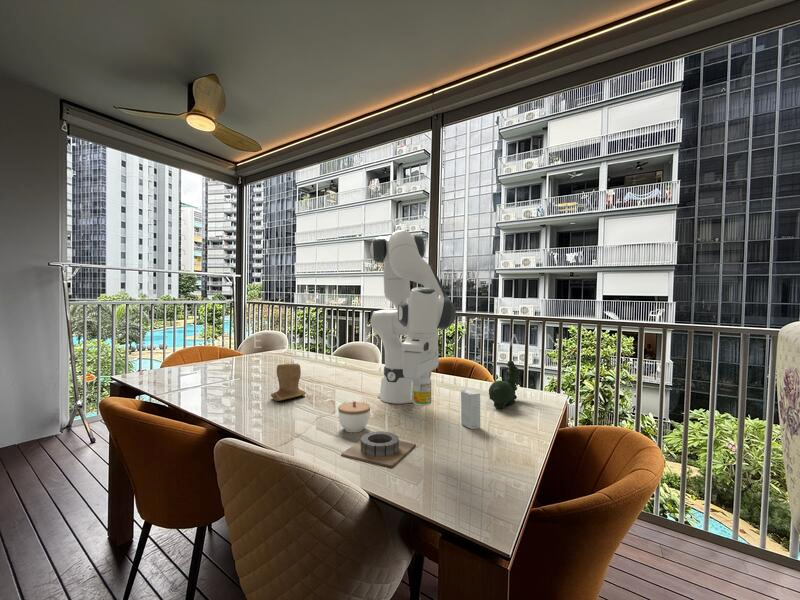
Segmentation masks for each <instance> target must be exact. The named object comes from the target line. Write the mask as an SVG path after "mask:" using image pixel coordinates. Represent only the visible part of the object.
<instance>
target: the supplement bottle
mask: <svg viewBox="0 0 800 600" xmlns="http://www.w3.org/2000/svg"><path fill="white" fill-rule="evenodd" d="M428 376H429V371H428V372H427V373H426V374H425V375H423V376H421V380H420V384H421V385H422V387H421V391H419V392H416V391H414V384H413V405H415V406H417V407H425V406H427V407H428V406H430V405H431V404H432V378H431V377H430V378H428Z"/></svg>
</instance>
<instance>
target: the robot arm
mask: <svg viewBox="0 0 800 600" xmlns="http://www.w3.org/2000/svg"><path fill="white" fill-rule="evenodd" d="M369 248H370V249H369V250H370V256H371V257H372V260H373V261H374V262H375V263H380V264H383V263H384V264H383V290H384V291H383V294H384V296H385V298H386V299H387V300H388V301H389V302H390V303H392V304H393V305H394V306H395V309H391V308H390V309H388V308H387V309H380V310H376V311H374V312H373V314H371V316H370V326H371V329H372V330H373V331H374V332H375V333H376V334H377V335H378V337H379V338H380V340H381V342H382V345H383V349H384V366H383V377H381V381H380V388H379V389H380V390H379V393H378V394H377V398H379V399H380V401H382V402H385V403H389V404H409V403H413V384H414V391H416V392H419V391H421V387H422V385H421V384H420V380H421V376H423V375H425V374H426V373H427V372H428V371H429V376H428V378H430V379H431V376H432V372H433V371H434V370H436V369H438V367H439V361H440V360H439V343H438V342H439V330H447V329H448V328H450V327H451V326H452V325H453V324H454V323H455V322H456V321H455V320H456V318H457V311H456V308H455V305H454V303H453V301H452V300H451V298H450V297H449V296H448V294H447V292H446V290H445V288H444V286H443V285H442V283H441V282H442V281H441V280H440V279H439V276H438V274H437V272H436V271H435V269H434V267H433V266H432V265H431V264H430V263H427V261H425V259H424V257H425V252H426V243H425V240H424V237H422V236H421V235H419V234H411V232H409V231H407V230H404V229H399V230H396V231H394V232H393V233H392V234H391V235H385V236H382V235H381V236H377V237H373V239H372V240H371V244H370V246H369ZM410 281H412V282H415V283H417V284H420V285H421V286H417V287H413V288H412V289H411V283H410ZM400 336H405V337H406V339H405V340H404V341H402V340H401V338H400ZM413 404H414V403H413Z"/></svg>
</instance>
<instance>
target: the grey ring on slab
mask: <svg viewBox="0 0 800 600" xmlns="http://www.w3.org/2000/svg"><path fill="white" fill-rule="evenodd" d="M416 446H417V444H416V443H412V442H408V441H407V442H406V441H402V440H400V438H399V435H397V434H395V433H393V432H388V431H385V430H384V431H371V432H367V433H365V434H363V435H362V436H361V437H360V441H357V443H355V444H353V445H352V446H350V447H349V448H347V449H346V450H344V451H343V452H341V453H340V456H342V457H345V458H350V459H354V460H357V461H358V460H359V461H361V462H366V463H370V464H372V465H373V464H375V465H379V466H381V467H386V468H391V469H392V468H393V467H395V466H396V465H397V464H398V463H399V462H400V461H402V459H403V458H404V457H406V455H408V454H409V453H410V452H411V451H412V450H414V449H415V448H416Z"/></svg>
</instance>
